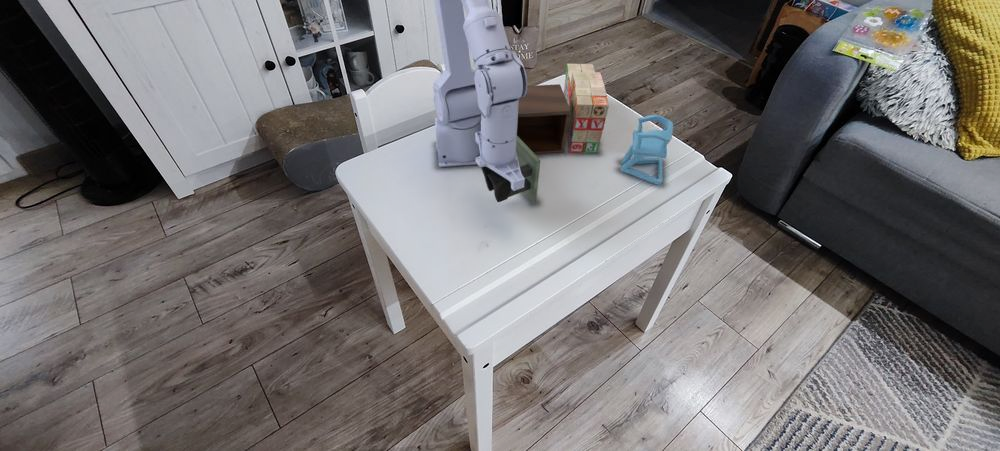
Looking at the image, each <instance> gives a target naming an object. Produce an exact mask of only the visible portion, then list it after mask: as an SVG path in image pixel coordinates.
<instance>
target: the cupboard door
mask: <svg viewBox="0 0 1000 451" xmlns="http://www.w3.org/2000/svg"><path fill="white" fill-rule="evenodd" d="M516 153H517V158H518V162H519V166H520V170H521V172H522V176H523V177H524V178H525V182H524V188H521V189H518V190H515V191H513V190H512V189H511V191H510V194H509V196H508V198H510V197H513V196H516V195H519V194H521V193H523V194H525V196H526V197H527V198H528V199H529V201H531V203H532V204H534V203H536V202H537V196H538V187H539V178H540V168H541V159H540V158H539V157H538V155H535V154H534V153H533V152H532V151H531V150H530V149H529V147H528V146H527V145H526V144H525V143H524V142H523V141H522V140H521V139H520V138H519V137H518V136H517V139H516Z"/></svg>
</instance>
